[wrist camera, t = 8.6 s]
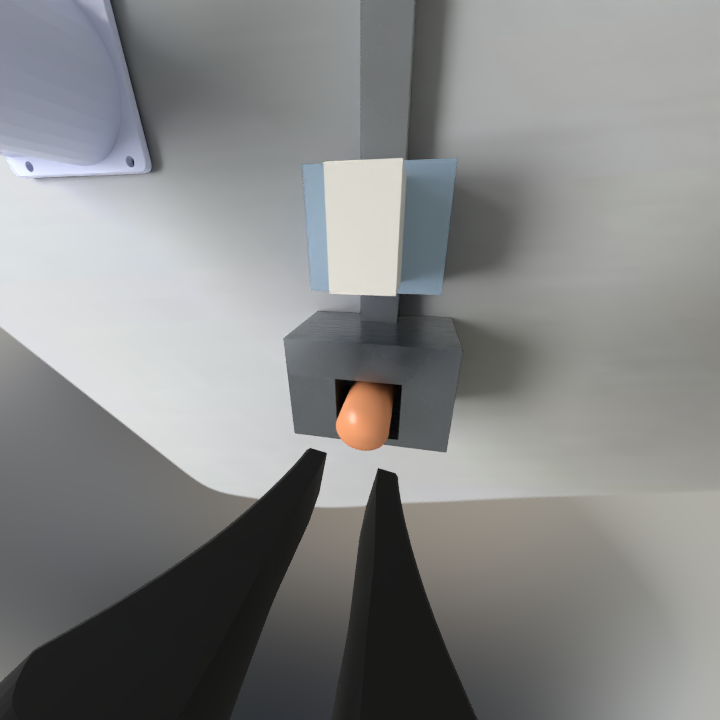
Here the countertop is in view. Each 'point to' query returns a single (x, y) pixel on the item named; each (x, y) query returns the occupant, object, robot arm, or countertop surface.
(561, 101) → the countertop surface
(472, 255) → the countertop surface
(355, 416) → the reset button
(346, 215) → the carriage
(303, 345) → the cabinet
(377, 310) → the rail
